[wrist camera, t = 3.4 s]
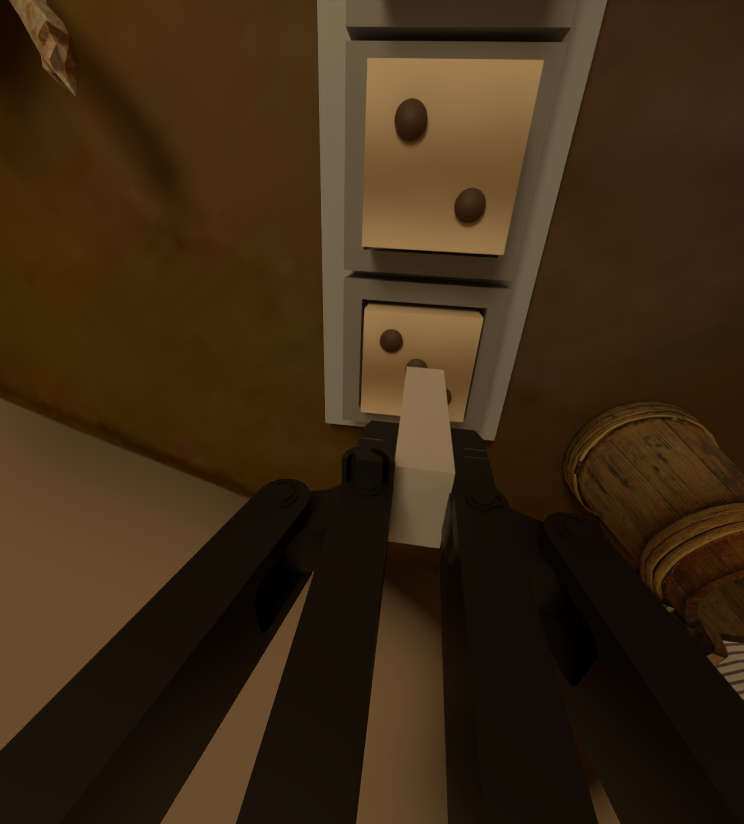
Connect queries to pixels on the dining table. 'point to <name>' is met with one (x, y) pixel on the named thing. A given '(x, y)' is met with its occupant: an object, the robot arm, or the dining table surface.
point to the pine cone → (51, 41)
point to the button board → (437, 270)
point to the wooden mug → (668, 512)
